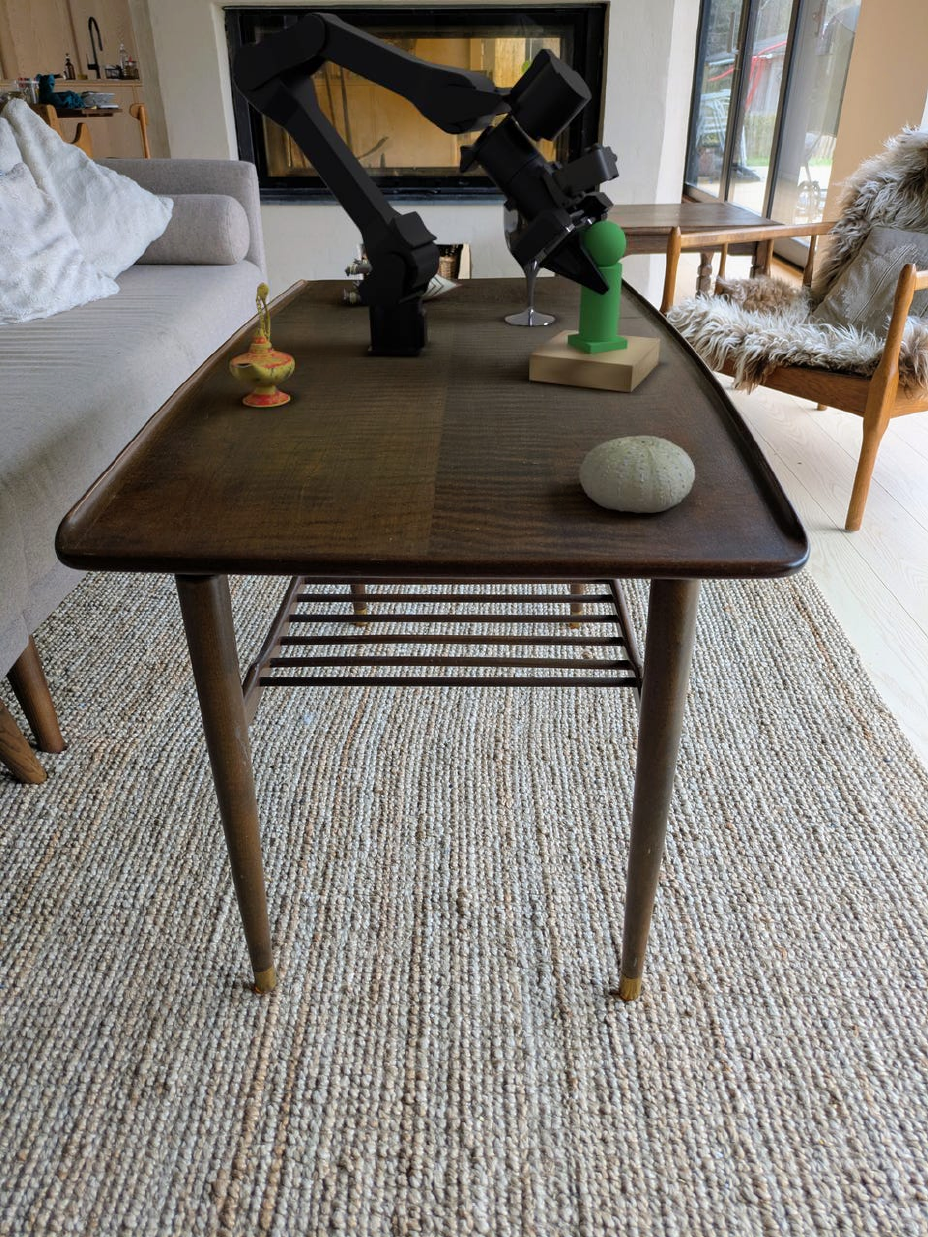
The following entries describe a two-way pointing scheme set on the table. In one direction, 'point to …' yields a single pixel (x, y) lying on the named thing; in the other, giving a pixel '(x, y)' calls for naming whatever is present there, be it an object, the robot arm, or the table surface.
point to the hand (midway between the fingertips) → (612, 287)
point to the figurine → (434, 289)
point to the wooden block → (594, 363)
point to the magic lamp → (263, 364)
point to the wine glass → (511, 231)
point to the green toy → (602, 309)
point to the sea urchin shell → (637, 474)
